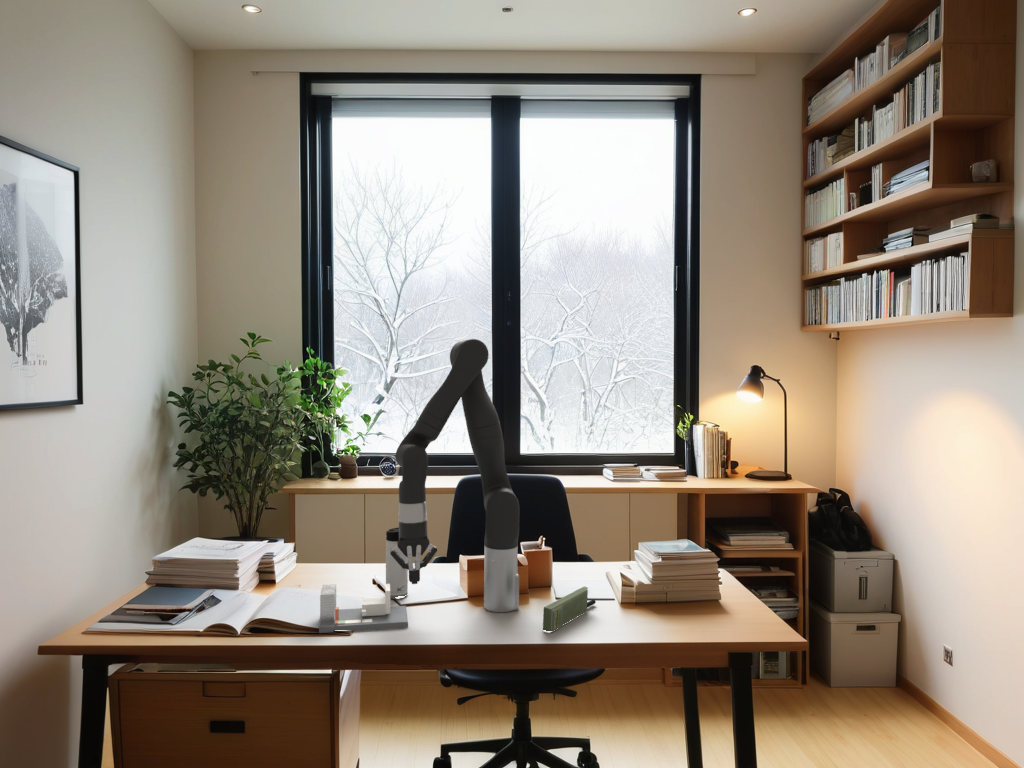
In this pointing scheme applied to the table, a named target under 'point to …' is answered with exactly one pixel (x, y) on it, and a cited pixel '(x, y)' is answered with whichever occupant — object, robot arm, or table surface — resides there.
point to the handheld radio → (566, 609)
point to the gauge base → (366, 620)
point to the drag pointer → (336, 615)
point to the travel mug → (395, 567)
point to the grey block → (327, 603)
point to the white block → (377, 604)
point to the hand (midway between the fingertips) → (414, 583)
